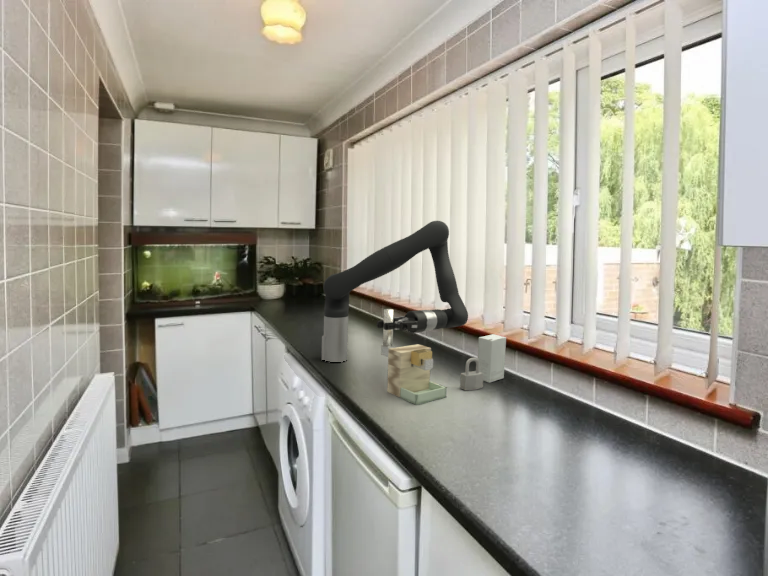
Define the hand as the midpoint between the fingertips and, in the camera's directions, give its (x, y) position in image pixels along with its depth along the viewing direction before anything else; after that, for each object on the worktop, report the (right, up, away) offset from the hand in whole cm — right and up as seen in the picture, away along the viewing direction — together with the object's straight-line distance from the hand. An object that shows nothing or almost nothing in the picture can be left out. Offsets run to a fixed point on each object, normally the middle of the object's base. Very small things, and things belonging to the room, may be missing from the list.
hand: (381, 325), depth 145 cm
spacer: (+12, -10, -10) cm, 19 cm away
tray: (+13, -21, -11) cm, 26 cm away
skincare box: (+37, -19, +10) cm, 43 cm away
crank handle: (+8, -11, -4) cm, 14 cm away
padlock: (+29, -20, 0) cm, 35 cm away
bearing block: (+8, -20, -5) cm, 22 cm away
